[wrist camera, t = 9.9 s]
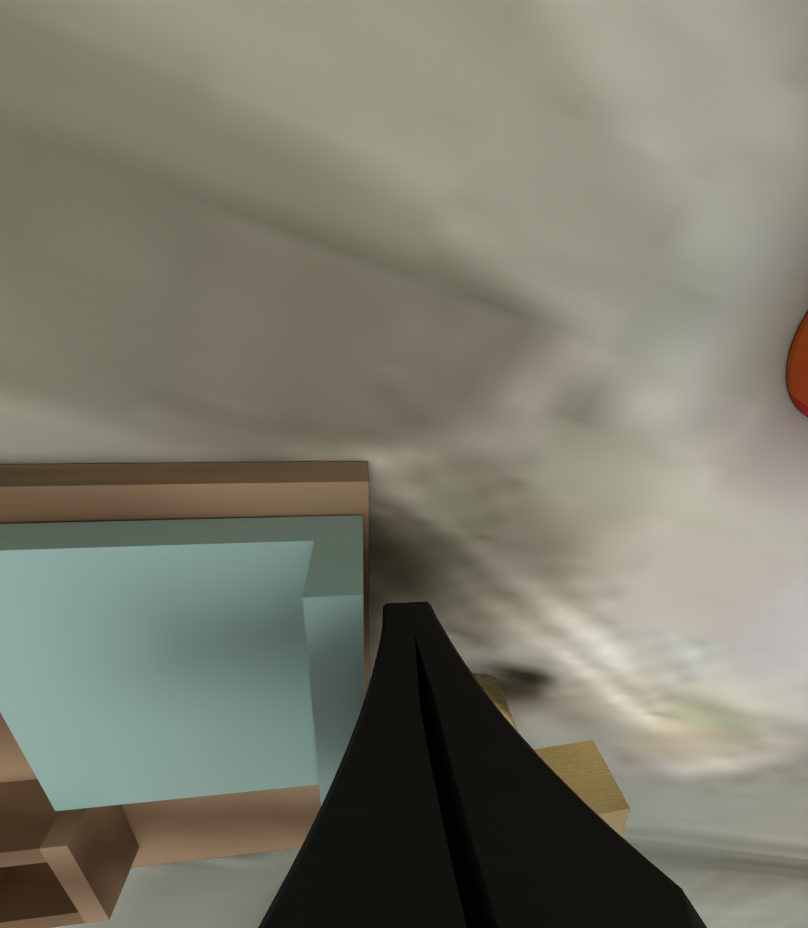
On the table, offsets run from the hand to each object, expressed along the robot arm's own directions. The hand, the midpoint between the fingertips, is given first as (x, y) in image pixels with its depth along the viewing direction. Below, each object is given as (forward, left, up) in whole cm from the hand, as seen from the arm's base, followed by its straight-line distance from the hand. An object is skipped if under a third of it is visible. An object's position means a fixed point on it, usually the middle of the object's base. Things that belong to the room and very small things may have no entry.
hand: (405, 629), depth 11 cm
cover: (-2, +6, -1) cm, 7 cm away
